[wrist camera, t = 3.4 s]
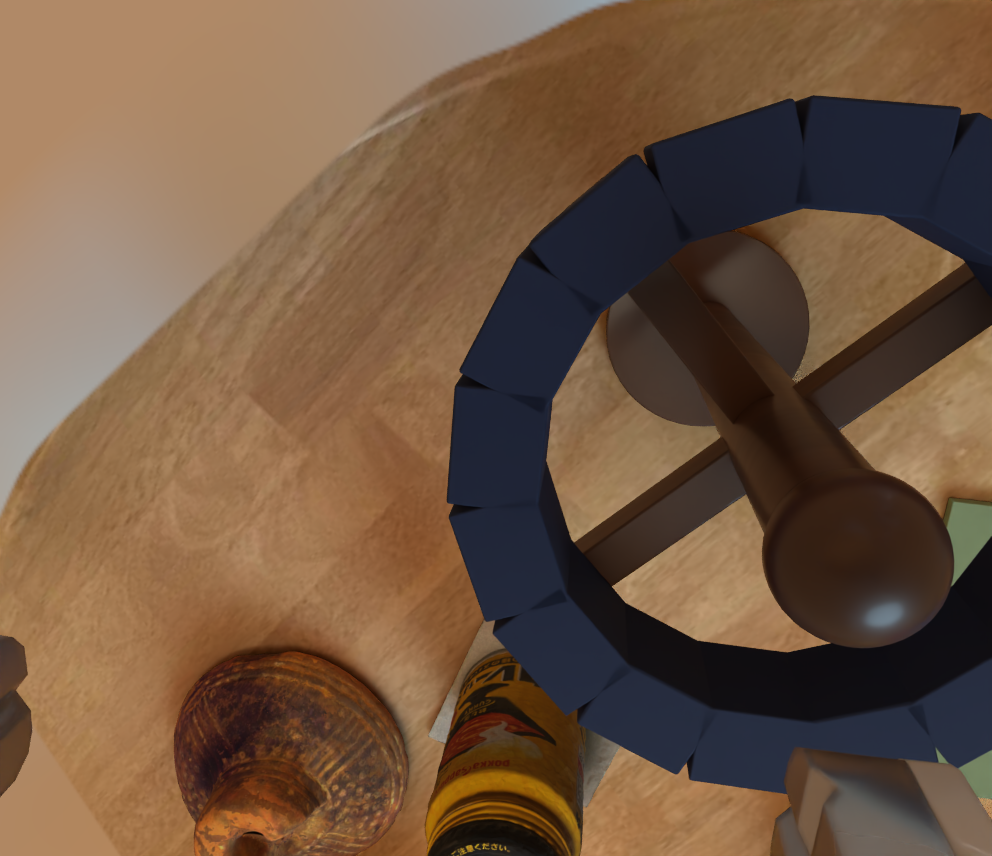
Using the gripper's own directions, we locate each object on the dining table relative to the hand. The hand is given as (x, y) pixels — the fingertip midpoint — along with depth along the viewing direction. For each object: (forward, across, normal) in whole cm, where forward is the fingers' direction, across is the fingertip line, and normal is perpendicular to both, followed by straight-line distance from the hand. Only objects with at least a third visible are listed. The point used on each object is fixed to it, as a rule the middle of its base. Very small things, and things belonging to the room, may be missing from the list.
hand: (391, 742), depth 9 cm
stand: (+28, -7, 0) cm, 29 cm away
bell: (+29, +10, +23) cm, 38 cm away
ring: (+13, -6, 0) cm, 14 cm away
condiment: (+29, -2, +19) cm, 34 cm away
